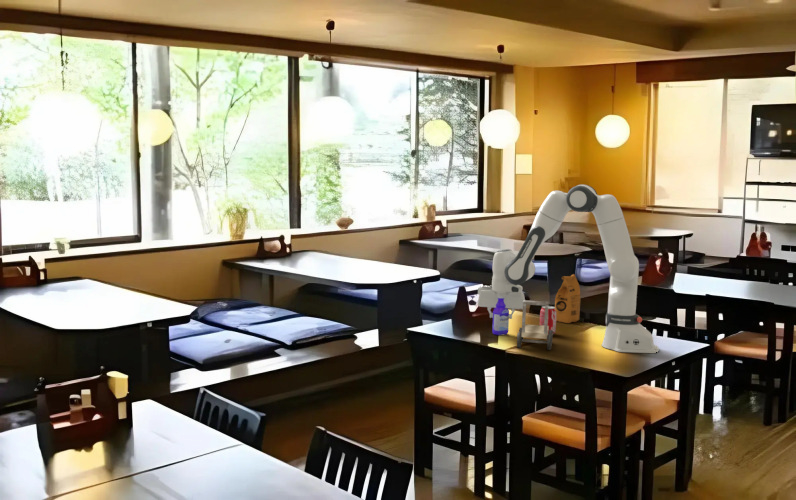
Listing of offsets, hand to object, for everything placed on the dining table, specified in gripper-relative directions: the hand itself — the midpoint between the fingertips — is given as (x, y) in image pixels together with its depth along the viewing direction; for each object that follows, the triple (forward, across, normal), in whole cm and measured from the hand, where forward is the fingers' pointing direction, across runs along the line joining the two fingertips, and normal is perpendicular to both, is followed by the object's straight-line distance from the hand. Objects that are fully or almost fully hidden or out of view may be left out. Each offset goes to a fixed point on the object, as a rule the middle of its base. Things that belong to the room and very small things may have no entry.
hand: (500, 317), depth 343 cm
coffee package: (+8, +28, +41) cm, 50 cm away
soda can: (+8, +20, +8) cm, 23 cm away
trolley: (+7, +16, -17) cm, 24 cm away
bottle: (+7, 0, 0) cm, 7 cm away
